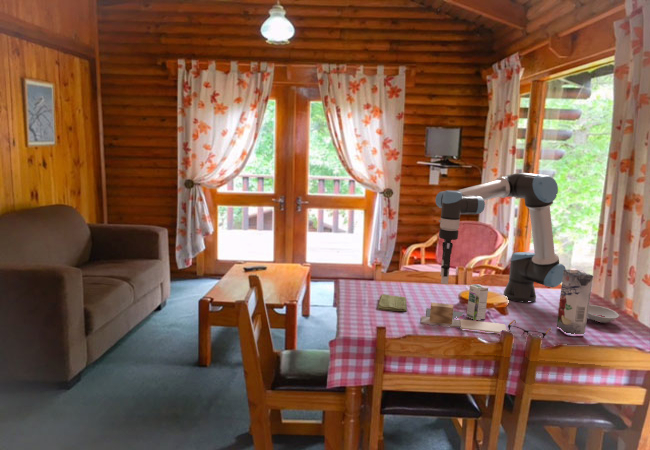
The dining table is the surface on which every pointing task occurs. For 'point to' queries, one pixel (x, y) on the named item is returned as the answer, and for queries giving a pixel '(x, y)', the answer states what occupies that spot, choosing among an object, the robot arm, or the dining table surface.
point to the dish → (601, 313)
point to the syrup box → (477, 302)
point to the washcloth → (392, 303)
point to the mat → (453, 313)
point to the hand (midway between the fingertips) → (444, 279)
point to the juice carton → (574, 301)
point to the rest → (482, 326)
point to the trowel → (441, 316)
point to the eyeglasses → (526, 330)
